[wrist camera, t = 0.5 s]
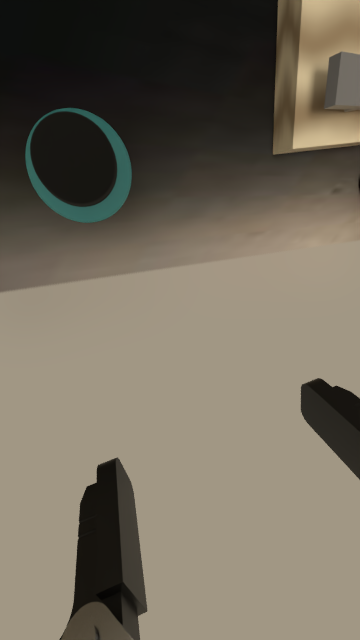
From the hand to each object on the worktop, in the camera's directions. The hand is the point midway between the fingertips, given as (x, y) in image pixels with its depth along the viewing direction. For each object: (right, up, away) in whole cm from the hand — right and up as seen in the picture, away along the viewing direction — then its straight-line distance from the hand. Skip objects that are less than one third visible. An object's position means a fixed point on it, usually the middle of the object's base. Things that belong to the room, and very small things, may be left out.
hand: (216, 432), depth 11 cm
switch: (+17, +30, +18) cm, 39 cm away
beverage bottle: (-12, +20, +19) cm, 30 cm away
